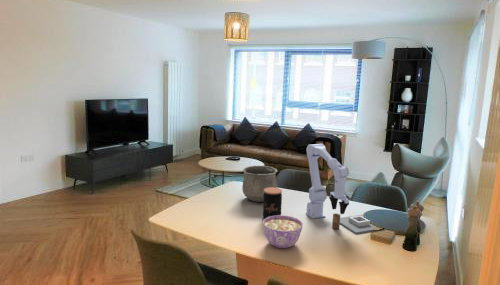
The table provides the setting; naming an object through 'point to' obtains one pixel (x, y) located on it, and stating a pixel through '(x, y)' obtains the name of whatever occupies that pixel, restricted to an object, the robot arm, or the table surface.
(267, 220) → the bowl of food
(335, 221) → the walnut peg
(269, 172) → the pot
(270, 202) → the coffee jar
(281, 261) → the table surface
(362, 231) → the grey flat piece
